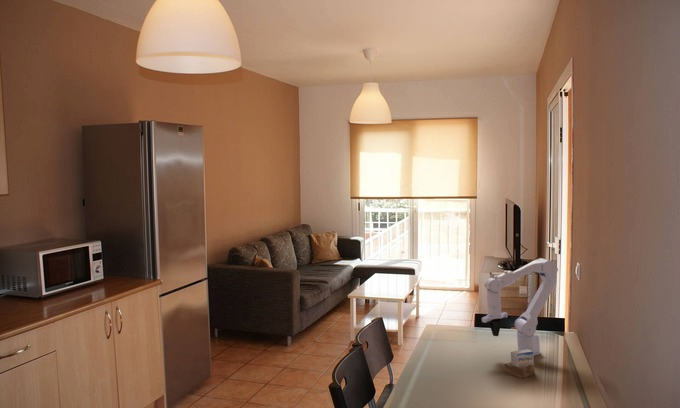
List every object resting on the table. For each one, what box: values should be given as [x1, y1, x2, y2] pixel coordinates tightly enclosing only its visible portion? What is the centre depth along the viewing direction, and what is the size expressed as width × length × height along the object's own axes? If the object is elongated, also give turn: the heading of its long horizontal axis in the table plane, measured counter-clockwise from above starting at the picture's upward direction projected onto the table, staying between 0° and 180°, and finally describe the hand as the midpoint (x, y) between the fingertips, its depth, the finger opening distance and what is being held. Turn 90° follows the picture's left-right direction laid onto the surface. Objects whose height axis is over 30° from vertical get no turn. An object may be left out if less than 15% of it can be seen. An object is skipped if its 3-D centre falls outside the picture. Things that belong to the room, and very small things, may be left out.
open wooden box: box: [503, 361, 535, 379], centre depth 219 cm, size 7×9×4 cm
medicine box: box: [510, 349, 535, 368], centre depth 220 cm, size 8×4×9 cm, turn 107°
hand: (495, 335), depth 241 cm, fingers closed
